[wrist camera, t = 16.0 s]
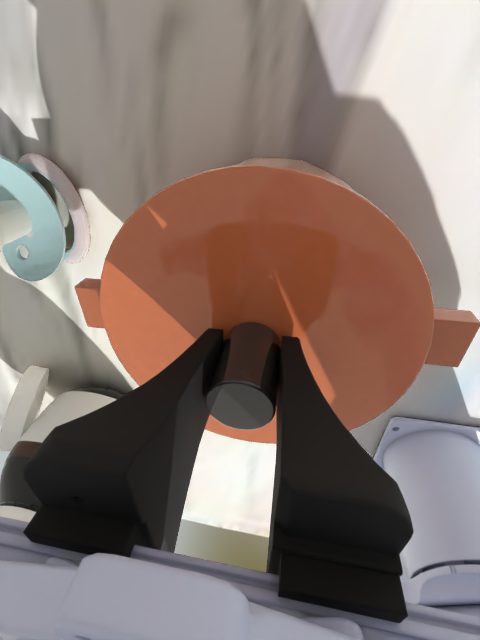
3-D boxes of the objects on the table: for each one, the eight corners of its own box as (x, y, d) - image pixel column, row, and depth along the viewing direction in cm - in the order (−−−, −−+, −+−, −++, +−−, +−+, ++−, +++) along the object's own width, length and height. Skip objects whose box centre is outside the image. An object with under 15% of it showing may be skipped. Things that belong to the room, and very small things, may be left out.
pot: (394, 366, 21) (424, 449, 16) (147, 338, 24) (103, 403, 18) (472, 162, 14) (572, 192, 9) (109, 153, 17) (20, 172, 11)
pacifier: (70, 141, 17) (-26, 147, 18) (-29, 153, 12) (-156, 161, 12) (109, 266, 21) (30, 266, 22) (49, 316, 16) (-52, 313, 16)
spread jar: (157, 450, 32) (96, 591, 23) (59, 432, 34) (-38, 558, 24) (139, 364, 25) (42, 515, 16) (17, 346, 27) (-140, 475, 17)
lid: (375, 441, 17) (396, 536, 13) (141, 407, 19) (101, 481, 15) (489, 166, 9) (618, 204, 5) (75, 155, 11) (-41, 178, 7)
